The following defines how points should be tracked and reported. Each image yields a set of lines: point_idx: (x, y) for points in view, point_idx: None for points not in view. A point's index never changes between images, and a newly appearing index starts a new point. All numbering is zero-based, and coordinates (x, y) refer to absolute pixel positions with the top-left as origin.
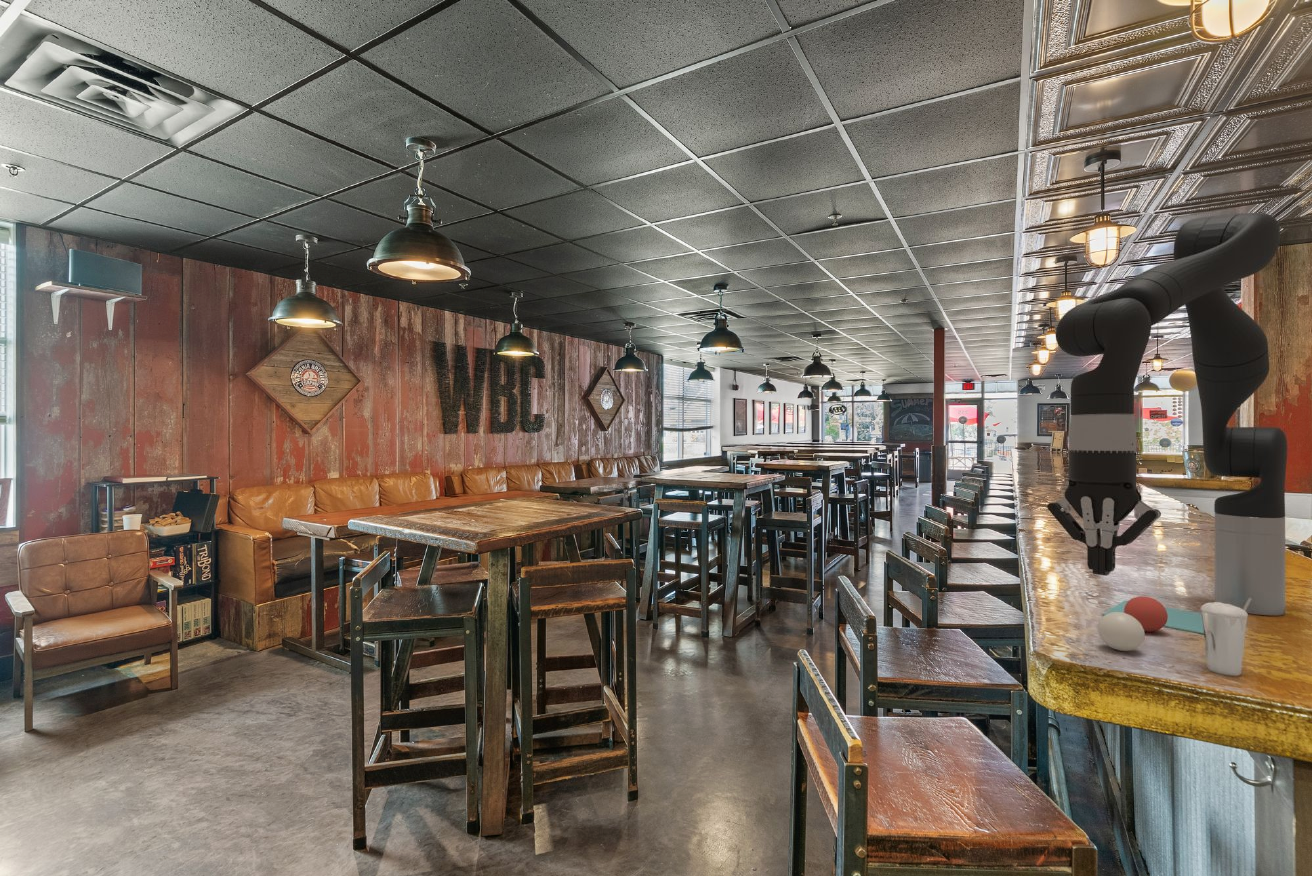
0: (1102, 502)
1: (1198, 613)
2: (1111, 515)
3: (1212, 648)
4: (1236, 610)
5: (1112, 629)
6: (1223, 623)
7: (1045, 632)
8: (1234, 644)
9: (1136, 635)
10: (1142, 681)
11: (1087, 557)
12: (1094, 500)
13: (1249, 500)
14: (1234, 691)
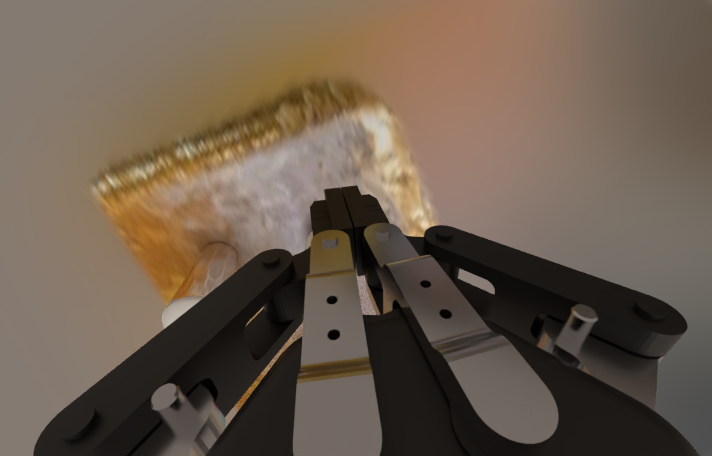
0: (396, 437)
1: None
2: (313, 341)
3: (218, 262)
4: (166, 319)
5: None
6: (187, 290)
7: (426, 223)
8: (188, 275)
9: (309, 240)
10: (252, 112)
11: (382, 210)
12: (455, 438)
13: None
14: (167, 185)
